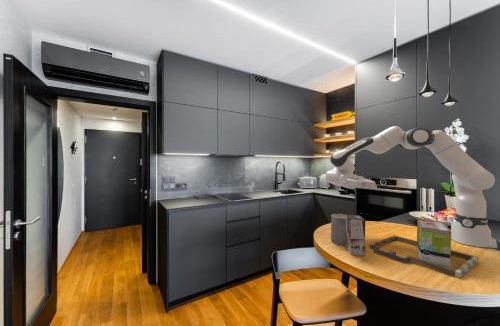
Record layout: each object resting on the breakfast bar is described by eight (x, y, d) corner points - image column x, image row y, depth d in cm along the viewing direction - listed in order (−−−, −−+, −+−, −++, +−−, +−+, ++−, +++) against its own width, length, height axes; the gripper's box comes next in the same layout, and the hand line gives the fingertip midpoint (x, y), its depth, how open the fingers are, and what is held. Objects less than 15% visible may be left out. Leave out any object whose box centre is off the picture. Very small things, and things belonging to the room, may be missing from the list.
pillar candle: (338, 237, 121) (338, 210, 121) (354, 242, 113) (355, 213, 113) (327, 240, 116) (327, 212, 116) (343, 246, 108) (344, 216, 108)
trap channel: (393, 238, 120) (393, 235, 120) (477, 261, 92) (477, 257, 92) (365, 249, 104) (365, 245, 104) (456, 281, 77) (456, 275, 77)
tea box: (451, 267, 87) (452, 230, 87) (419, 261, 93) (420, 226, 92) (443, 254, 100) (444, 222, 100) (416, 249, 105) (416, 218, 105)
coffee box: (365, 255, 98) (365, 219, 98) (350, 254, 99) (350, 219, 99) (359, 248, 107) (359, 214, 106) (345, 246, 108) (345, 214, 108)
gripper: (341, 175, 121) (366, 180, 110) (361, 176, 133) (385, 181, 121) (339, 186, 122) (364, 192, 110) (359, 186, 133) (383, 192, 122)
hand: (375, 186), depth 116 cm, fingers closed
